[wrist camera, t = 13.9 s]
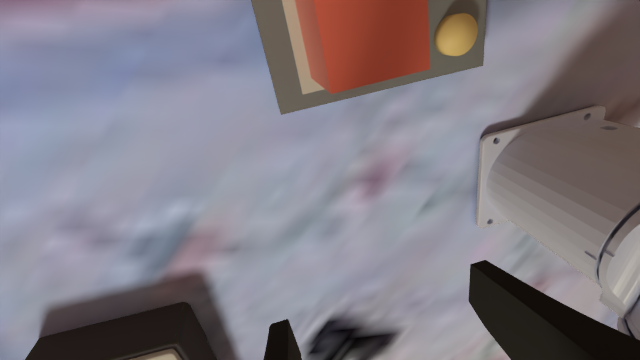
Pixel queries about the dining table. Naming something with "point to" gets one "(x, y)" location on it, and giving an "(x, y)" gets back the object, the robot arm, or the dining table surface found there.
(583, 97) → the dining table surface
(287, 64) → the panel
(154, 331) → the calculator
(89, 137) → the dining table surface
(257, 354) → the dining table surface
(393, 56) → the block
